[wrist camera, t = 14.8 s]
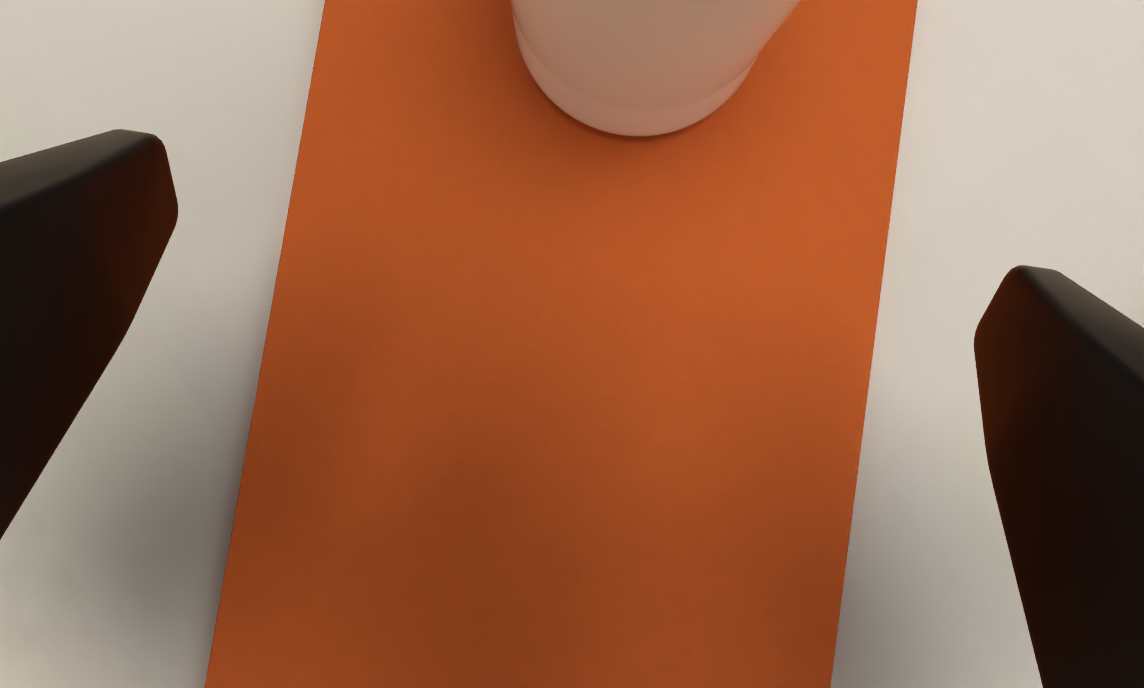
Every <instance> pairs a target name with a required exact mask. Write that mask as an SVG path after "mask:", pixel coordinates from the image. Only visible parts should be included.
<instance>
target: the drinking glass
mask: <svg viewBox="0 0 1144 688" xmlns="http://www.w3.org/2000/svg"><path fill="white" fill-rule="evenodd" d="M801 1H802V0H510V3H511V10H512V17H513V24H514V29H515V34H516V39H517V43H518V46H519V49H520V52H521V55H522V57H523V60H524V62H525V65H526V67H527V68H528V70H529V72H530V74H531V76H532V77H533V79H534V80H535V82H536V83H537V85H538V86H539V88H540V89H541V90H542V91H543V92H544V93H545V95H546V96H547V97H548V98H549V99H550V100H551V101H552V102H553V103H554V104H555V105H556V106H558V107H559V108H560V109H561V110H563V111H564V112H565V113H567V114H568V115H570V116H571V117H573V118H574V119H576V120H578V121H580V122H582V123H583V124H585V125H588V126H590V127H592V128H595V129H597V130H601V131H604V132H607V133H612V134H617V135H623V136H655V135H661V134H666V133H670V132H674V131H677V130H680V129H683V128H685V127H688V126H690V125H693V124H695V123H696V122H698V121H700V120H702V119H704V118H705V117H707V116H708V115H710V114H711V113H713V112H714V111H716V110H717V109H718V108H719V107H720V106H722V105H723V104H724V103H725V102H726V101H727V100H728V99H729V98H730V97H731V96H732V95H733V94H734V93H735V91H736V90H737V89H738V88H739V87H740V85H741V84H742V83H743V81H744V80H745V78H746V77H747V75H748V74H749V72H750V70H751V69H752V67H753V65H754V64H755V62H756V60H757V58H758V56H759V55H760V53H761V51H762V50H763V48H764V47H765V46H766V44H767V43H768V42H769V41H770V39H771V38H772V37H773V36H774V34H775V33H776V32H777V30H778V29H779V28H780V27H781V25H782V24H783V23H784V22H785V20H786V19H787V18H788V17H789V15H790V14H791V13H792V12H793V10H794V9H795V8H796V7H797V5H798V4H799V3H800V2H801Z"/></svg>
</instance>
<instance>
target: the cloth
mask: <svg viewBox="0 0 1144 688" xmlns="http://www.w3.org/2000/svg"><path fill="white" fill-rule="evenodd" d="M916 8H917V0H802V1H801V2H800V3H799V4H798V5H797V7H796V8H795V9H794V10H793V12H792V13H791V14H790V15H789V17H788V18H787V19H786V20H785V22H784V23H783V24H782V25H781V27H780V28H779V29H778V30H777V32H776V33H775V34H774V36H773V37H772V38H771V39H770V41H769V42H768V43H767V44H766V46H765V47H764V48H763V50H762V51H761V53H760V55H759V56H758V58H757V60H756V62H755V64H754V65H753V67H752V69H751V70H750V72H749V74H748V75H747V77H746V78H745V80H744V81H743V83H742V84H741V85H740V87H739V88H738V89H737V90H736V91H735V93H734V94H733V95H732V96H731V97H730V98H729V99H728V100H727V101H726V102H725V103H724V104H723V105H722V106H720V107H719V108H718V109H717V110H716V111H714V112H713V113H711V114H710V115H708V116H707V117H705V118H704V119H702V120H700V121H698V122H696V123H695V124H693V125H690V126H688V127H685V128H683V129H680V130H677V131H674V132H670V133H666V134H661V135H655V136H623V135H617V134H612V133H607V132H604V131H601V130H597V129H595V128H592V127H590V126H588V125H585V124H583V123H582V122H580V121H578V120H576V119H574V118H573V117H571V116H570V115H568V114H567V113H565V112H564V111H563V110H561V109H560V108H559V107H558V106H556V105H555V104H554V103H553V102H552V101H551V100H550V99H549V98H548V97H547V96H546V95H545V93H544V92H543V91H542V90H541V89H540V88H539V86H538V85H537V83H536V82H535V80H534V79H533V77H532V76H531V74H530V72H529V70H528V68H527V67H526V65H525V62H524V60H523V57H522V55H521V52H520V49H519V46H518V43H517V39H516V34H515V29H514V24H513V17H512V10H511V3H510V0H325V5H324V11H323V16H322V22H321V28H320V33H319V39H318V45H317V50H316V56H315V62H314V68H313V73H312V79H311V85H310V90H309V96H308V102H307V107H306V113H305V119H304V124H303V130H302V136H301V142H300V147H299V153H298V159H297V164H296V170H295V176H294V181H293V187H292V193H291V198H290V204H289V210H288V216H287V221H286V227H285V233H284V238H283V244H282V250H281V255H280V261H279V267H278V272H277V278H276V284H275V290H274V295H273V301H272V307H271V312H270V318H269V324H268V329H267V335H266V341H265V346H264V352H263V358H262V364H261V369H260V375H259V381H258V386H257V392H256V398H255V403H254V409H253V415H252V421H251V426H250V432H249V438H248V443H247V449H246V455H245V460H244V466H243V472H242V477H241V483H240V489H239V495H238V500H237V506H236V512H235V517H234V523H233V529H232V534H231V540H230V546H229V551H228V557H227V563H226V569H225V574H224V580H223V586H222V591H221V597H220V603H219V608H218V614H217V620H216V625H215V631H214V637H213V643H212V648H211V654H210V660H209V665H208V671H207V677H206V682H205V688H830V686H831V678H832V670H833V662H834V654H835V646H836V638H837V630H838V623H839V615H840V607H841V599H842V591H843V583H844V575H845V567H846V560H847V552H848V544H849V536H850V528H851V520H852V512H853V504H854V496H855V489H856V481H857V473H858V465H859V457H860V449H861V441H862V433H863V426H864V418H865V410H866V402H867V394H868V386H869V378H870V370H871V362H872V355H873V347H874V339H875V331H876V323H877V315H878V307H879V299H880V292H881V284H882V276H883V268H884V260H885V252H886V244H887V236H888V228H889V221H890V213H891V205H892V197H893V189H894V181H895V173H896V165H897V158H898V150H899V142H900V134H901V126H902V118H903V110H904V102H905V94H906V87H907V79H908V71H909V63H910V55H911V47H912V39H913V31H914V24H915V16H916Z"/></svg>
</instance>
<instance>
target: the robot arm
mask: <svg viewBox="0 0 1144 688" xmlns="http://www.w3.org/2000/svg"><path fill="white" fill-rule="evenodd" d="M177 218H178V203H177V198H176V193H175V189H174V184H173V180H172V175H171V171H170V166H169V162H168V157H167V153H166V149H165V146H164V145H163V143H162V141H161V140H160V139H159V138H158V137H157V136H155V135H153V134H149V133H143V132H136V131H129V130H123V129H117V130H112V131H108V132H105V133H101V134H98V135H94V136H91V137H87V138H84V139H80V140H77V141H73V142H70V143H66V144H63V145H59V146H56V147H52V148H49V149H45V150H42V151H38V152H35V153H31V154H28V155H24V156H21V157H17V158H14V159H10V160H7V161H3V162H0V539H1V538H2V536H3V534H4V533H5V531H6V530H7V528H8V526H9V525H10V523H11V521H12V520H13V518H14V517H15V515H16V513H17V512H18V510H19V508H20V507H21V505H22V503H23V502H24V500H25V499H26V497H27V495H28V494H29V492H30V490H31V489H32V487H33V486H34V484H35V482H36V481H37V479H38V477H39V476H40V474H41V473H42V471H43V469H44V468H45V466H46V464H47V463H48V461H49V460H50V458H51V456H52V455H53V453H54V451H55V450H56V448H57V447H58V445H59V443H60V442H61V440H62V438H63V437H64V435H65V433H66V432H67V430H68V429H69V427H70V425H71V424H72V422H73V420H74V419H75V417H76V416H77V414H78V412H79V411H80V409H81V407H82V406H83V404H84V403H85V401H86V399H87V398H88V396H89V394H90V393H91V391H92V390H93V388H94V386H95V385H96V383H97V381H98V380H99V378H100V377H101V375H102V373H103V372H104V370H105V368H106V367H107V365H108V363H109V362H110V360H111V359H112V357H113V355H114V354H115V352H116V350H117V349H118V347H119V345H120V343H121V342H122V340H123V338H124V336H125V335H126V333H127V331H128V329H129V327H130V325H131V323H132V321H133V319H134V317H135V314H136V312H137V310H138V308H139V306H140V303H141V301H142V299H143V297H144V295H145V292H146V290H147V288H148V286H149V284H150V281H151V279H152V277H153V275H154V272H155V270H156V268H157V266H158V264H159V261H160V259H161V257H162V255H163V253H164V250H165V248H166V246H167V244H168V242H169V239H170V237H171V235H172V233H173V230H174V228H175V225H176V222H177ZM974 352H975V361H976V369H977V378H978V386H979V395H980V403H981V412H982V421H983V429H984V438H985V446H986V452H987V459H988V465H989V470H990V474H991V479H992V483H993V488H994V492H995V496H996V500H997V504H998V508H999V512H1000V516H1001V520H1002V524H1003V528H1004V532H1005V536H1006V540H1007V544H1008V548H1009V552H1010V556H1011V560H1012V564H1013V568H1014V572H1015V576H1016V580H1017V584H1018V588H1019V592H1020V597H1021V601H1022V605H1023V609H1024V613H1025V617H1026V621H1027V625H1028V629H1029V633H1030V637H1031V641H1032V645H1033V649H1034V653H1035V657H1036V661H1037V665H1038V669H1039V673H1040V677H1041V681H1042V685H1043V688H1144V328H1143V327H1142V326H1140V325H1138V324H1137V323H1135V322H1134V321H1132V320H1131V319H1129V318H1128V317H1126V316H1125V315H1123V314H1122V313H1120V312H1119V311H1117V310H1116V309H1114V308H1113V307H1111V306H1110V305H1108V304H1107V303H1105V302H1104V301H1102V300H1101V299H1099V298H1098V297H1096V296H1095V295H1093V294H1092V293H1090V292H1089V291H1087V290H1086V289H1084V288H1083V287H1081V286H1080V285H1078V284H1077V283H1075V282H1074V281H1072V280H1071V279H1069V278H1067V277H1066V276H1064V275H1063V274H1061V273H1060V272H1058V271H1055V270H1051V269H1045V268H1038V267H1032V266H1025V265H1019V266H1017V267H1015V268H1012V269H1011V270H1010V271H1009V272H1008V273H1007V274H1006V276H1005V277H1004V279H1003V281H1002V282H1001V284H1000V286H999V288H998V290H997V291H996V293H995V295H994V297H993V299H992V300H991V302H990V304H989V306H988V308H987V309H986V311H985V313H984V315H983V317H982V318H981V320H980V322H979V324H978V326H977V329H976V333H975V338H974Z"/></svg>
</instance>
